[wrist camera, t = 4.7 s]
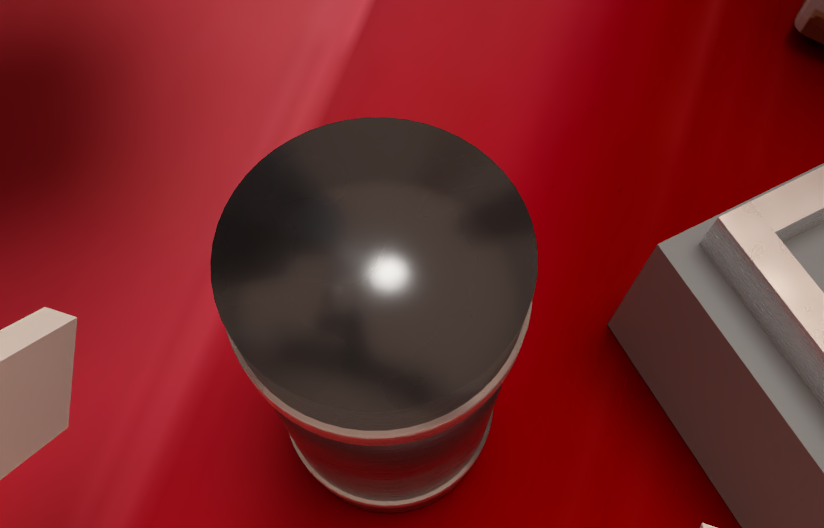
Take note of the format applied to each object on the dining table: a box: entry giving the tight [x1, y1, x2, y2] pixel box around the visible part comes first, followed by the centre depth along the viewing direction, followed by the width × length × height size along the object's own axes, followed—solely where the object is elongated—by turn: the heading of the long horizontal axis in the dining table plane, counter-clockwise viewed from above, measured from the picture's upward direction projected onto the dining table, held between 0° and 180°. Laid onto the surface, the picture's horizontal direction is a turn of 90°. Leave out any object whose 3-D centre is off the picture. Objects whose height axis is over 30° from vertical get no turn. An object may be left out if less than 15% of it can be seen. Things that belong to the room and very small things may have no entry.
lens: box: [211, 117, 538, 513], centre depth 20 cm, size 6×6×12 cm
